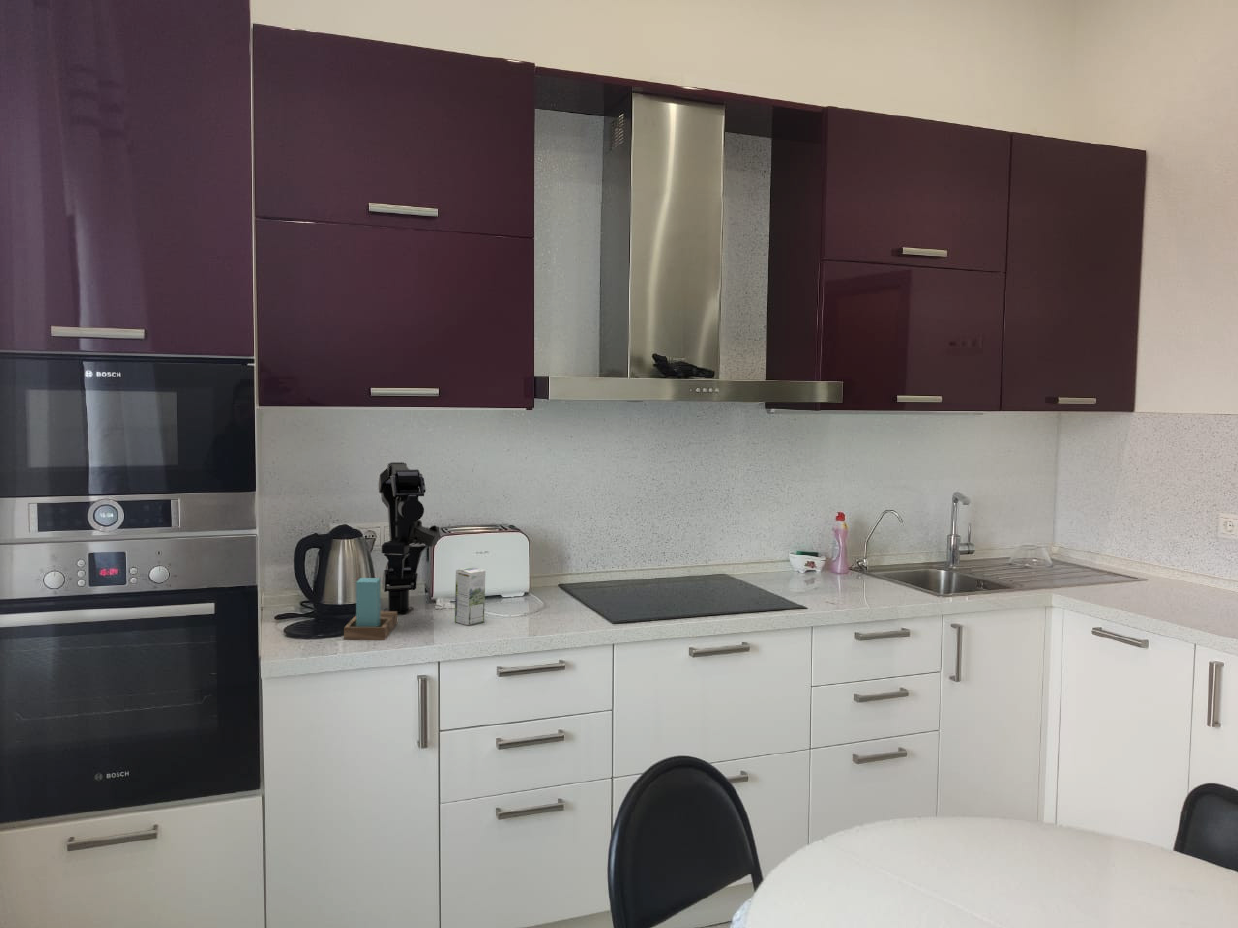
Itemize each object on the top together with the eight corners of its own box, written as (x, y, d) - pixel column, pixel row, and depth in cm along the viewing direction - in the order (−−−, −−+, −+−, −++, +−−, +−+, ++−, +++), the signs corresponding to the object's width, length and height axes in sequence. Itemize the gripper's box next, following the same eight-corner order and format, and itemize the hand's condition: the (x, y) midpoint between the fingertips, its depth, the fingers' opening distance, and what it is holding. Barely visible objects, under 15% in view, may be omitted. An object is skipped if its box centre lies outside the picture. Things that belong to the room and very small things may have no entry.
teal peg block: (360, 631, 238) (360, 577, 237) (380, 631, 239) (380, 578, 237) (356, 636, 233) (356, 581, 232) (376, 636, 234) (376, 582, 232)
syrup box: (470, 618, 254) (470, 566, 253) (485, 622, 250) (485, 569, 249) (454, 622, 250) (454, 569, 248) (469, 626, 246) (469, 572, 245)
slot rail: (359, 622, 248) (359, 611, 247) (397, 622, 248) (397, 611, 248) (344, 639, 231) (344, 627, 230) (384, 639, 231) (384, 627, 231)
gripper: (421, 522, 233) (422, 583, 234) (448, 513, 252) (449, 570, 253) (380, 521, 235) (380, 581, 236) (410, 512, 254) (410, 569, 255)
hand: (407, 575), depth 245 cm, fingers open, 9 cm apart
